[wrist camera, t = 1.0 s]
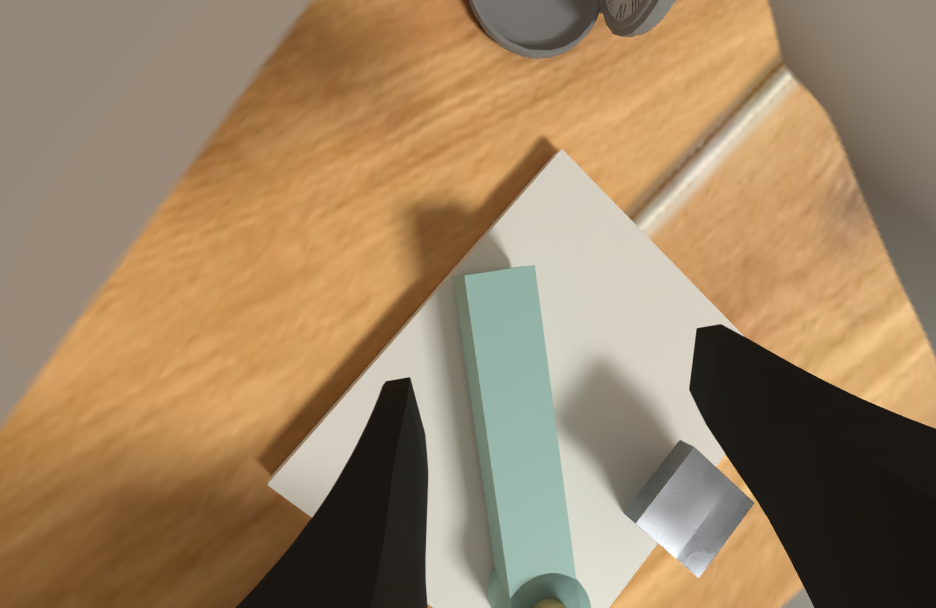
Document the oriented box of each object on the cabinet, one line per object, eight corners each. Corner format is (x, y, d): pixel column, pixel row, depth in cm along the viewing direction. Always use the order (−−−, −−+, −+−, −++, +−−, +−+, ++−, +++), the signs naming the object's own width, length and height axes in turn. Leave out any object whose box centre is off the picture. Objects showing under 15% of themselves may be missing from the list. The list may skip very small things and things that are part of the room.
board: (538, 675, 26) (545, 691, 25) (270, 476, 23) (267, 484, 22) (769, 373, 29) (783, 377, 28) (553, 154, 25) (561, 148, 24)
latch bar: (573, 613, 25) (609, 669, 21) (494, 637, 24) (518, 699, 21) (526, 265, 24) (557, 262, 20) (441, 277, 23) (458, 276, 19)
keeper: (633, 521, 27) (698, 577, 22) (580, 475, 26) (635, 523, 21) (679, 461, 28) (754, 503, 22) (628, 415, 27) (694, 446, 22)
